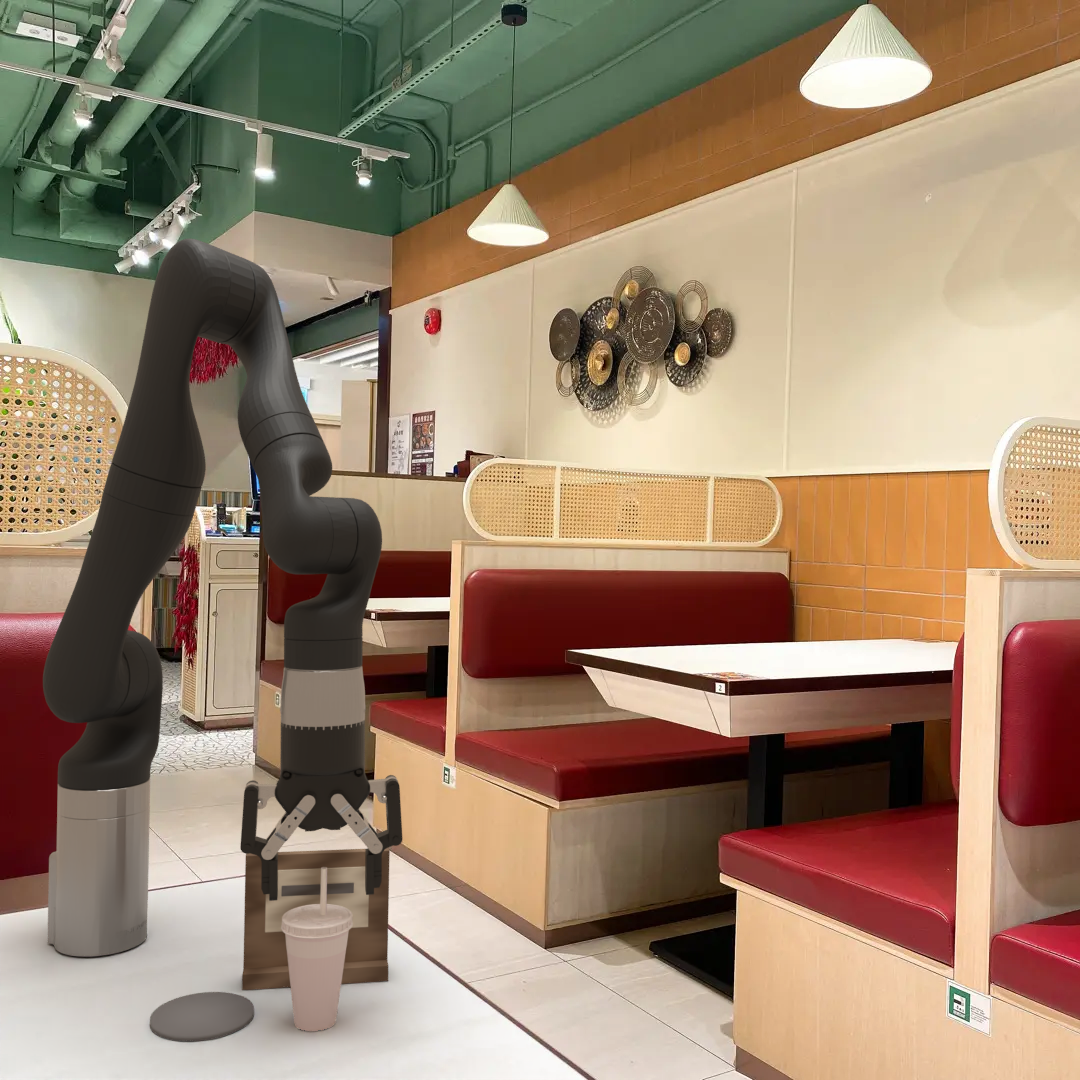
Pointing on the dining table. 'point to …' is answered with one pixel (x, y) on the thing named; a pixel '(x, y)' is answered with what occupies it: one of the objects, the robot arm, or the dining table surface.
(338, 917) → the smoothie
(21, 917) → the dining table surface
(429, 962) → the dining table surface
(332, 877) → the placard
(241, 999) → the coaster
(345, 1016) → the dining table surface
